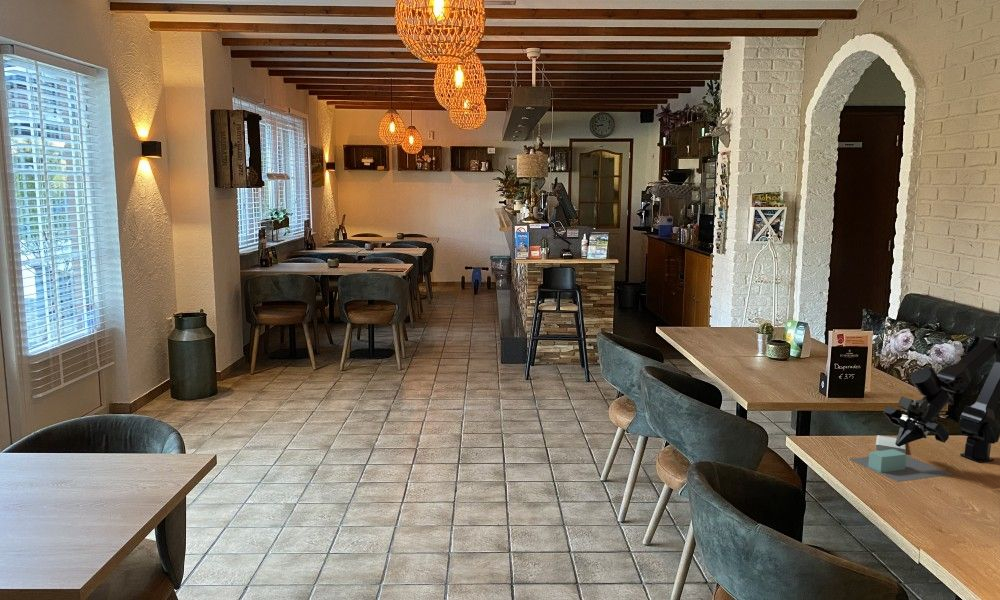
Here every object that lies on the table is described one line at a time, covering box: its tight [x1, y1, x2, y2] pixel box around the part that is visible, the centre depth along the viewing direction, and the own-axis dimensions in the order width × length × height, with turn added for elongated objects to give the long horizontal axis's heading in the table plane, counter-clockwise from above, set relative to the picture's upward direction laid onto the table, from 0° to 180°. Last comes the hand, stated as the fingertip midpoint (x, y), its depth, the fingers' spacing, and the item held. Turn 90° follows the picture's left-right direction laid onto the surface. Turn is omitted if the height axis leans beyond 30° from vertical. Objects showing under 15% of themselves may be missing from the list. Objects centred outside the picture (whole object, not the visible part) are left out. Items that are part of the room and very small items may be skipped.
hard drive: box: [875, 434, 907, 454], centre depth 235 cm, size 2×8×12 cm
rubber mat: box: [848, 455, 954, 483], centre depth 217 cm, size 20×18×1 cm
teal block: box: [868, 449, 908, 473], centre depth 216 cm, size 4×4×9 cm
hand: (897, 445), depth 216 cm, fingers closed
